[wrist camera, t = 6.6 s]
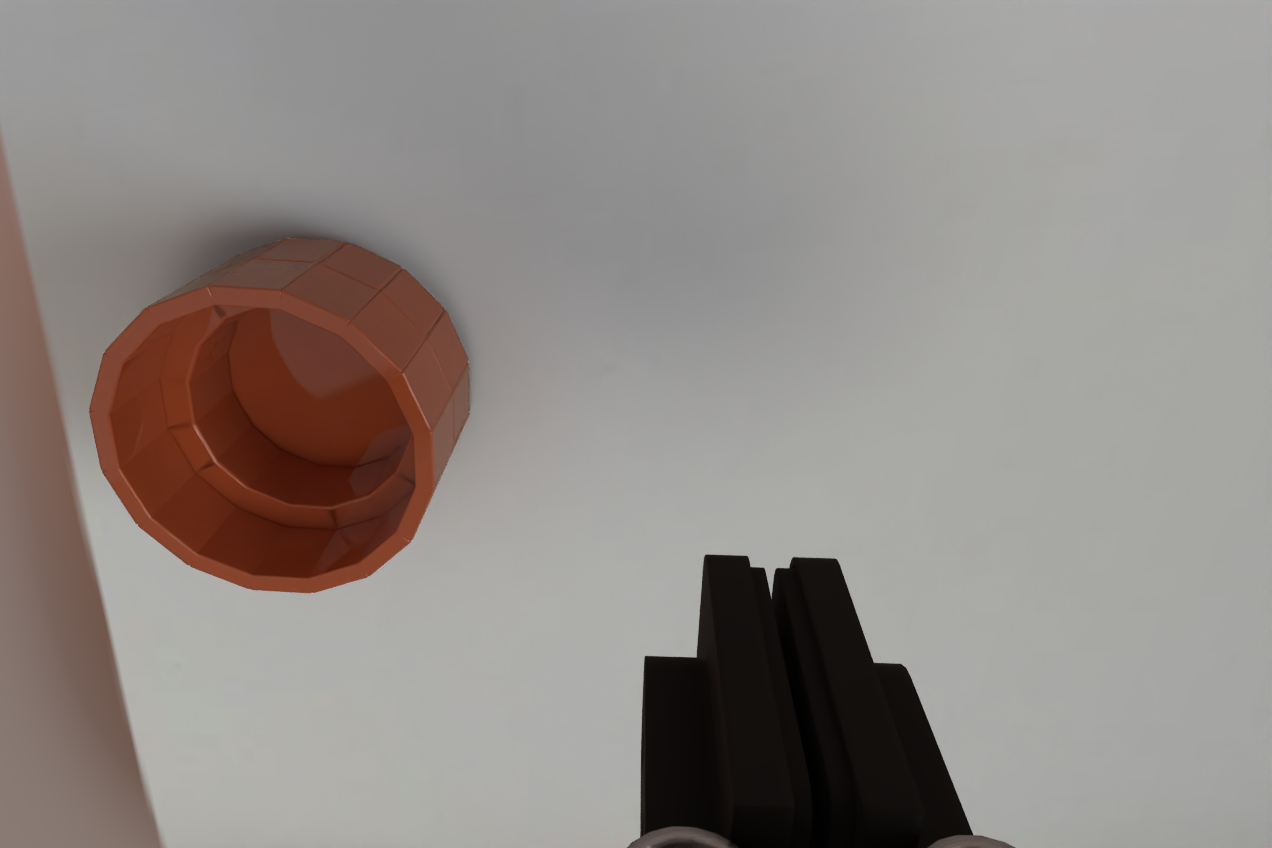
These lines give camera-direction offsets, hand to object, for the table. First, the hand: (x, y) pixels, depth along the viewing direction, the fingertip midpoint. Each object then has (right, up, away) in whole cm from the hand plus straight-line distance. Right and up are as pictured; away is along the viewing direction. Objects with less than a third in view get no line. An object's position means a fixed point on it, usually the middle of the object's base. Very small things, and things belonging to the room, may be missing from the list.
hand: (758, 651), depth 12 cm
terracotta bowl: (-9, +4, +11) cm, 15 cm away
